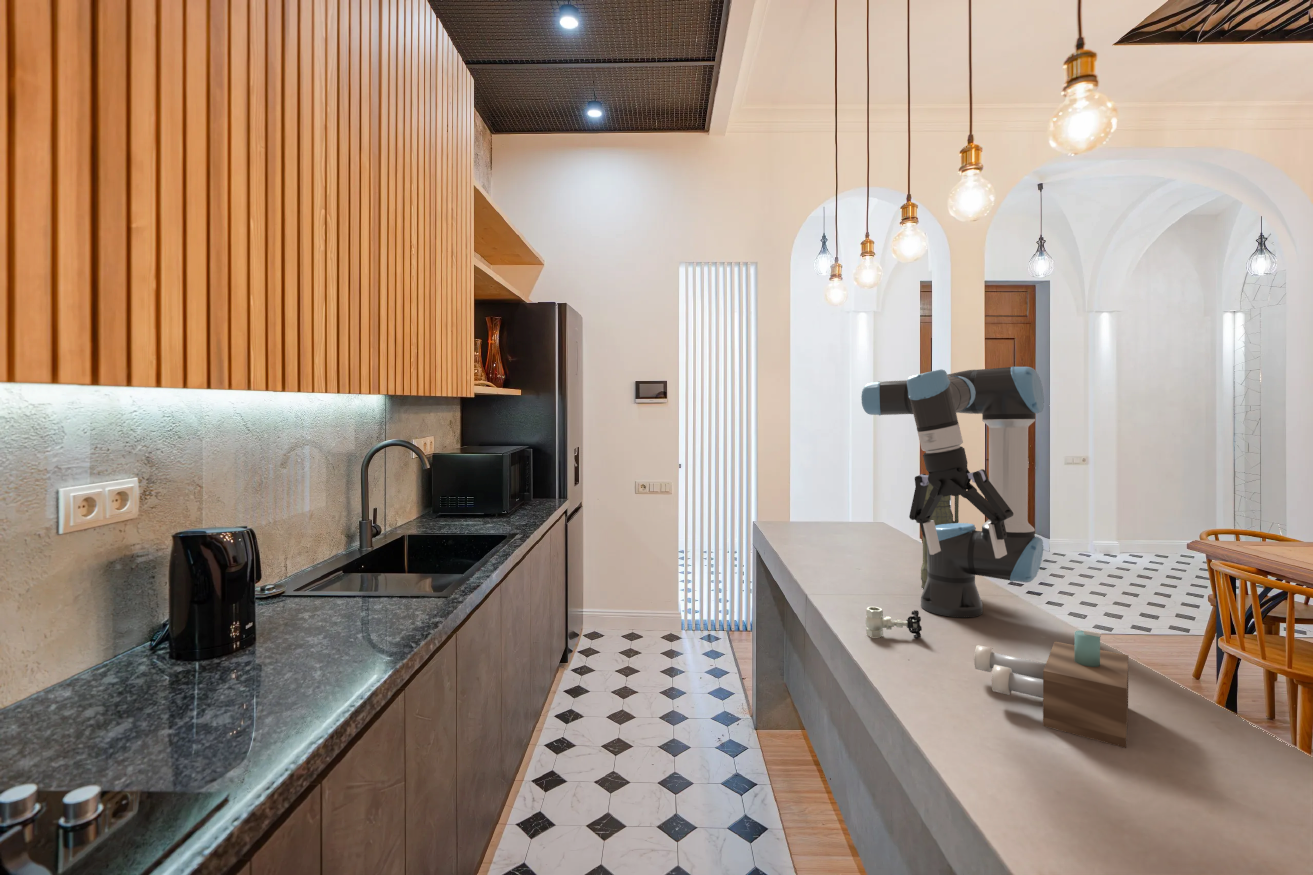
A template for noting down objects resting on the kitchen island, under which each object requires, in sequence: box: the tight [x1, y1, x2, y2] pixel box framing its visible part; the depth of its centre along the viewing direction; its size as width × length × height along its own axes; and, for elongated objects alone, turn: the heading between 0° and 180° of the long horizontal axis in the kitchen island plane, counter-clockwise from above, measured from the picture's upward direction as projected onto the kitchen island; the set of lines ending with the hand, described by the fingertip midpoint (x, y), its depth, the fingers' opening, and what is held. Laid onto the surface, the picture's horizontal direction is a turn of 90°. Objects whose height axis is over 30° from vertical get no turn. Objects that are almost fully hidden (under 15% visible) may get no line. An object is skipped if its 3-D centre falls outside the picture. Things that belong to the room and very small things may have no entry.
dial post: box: [1074, 629, 1102, 667], centre depth 103 cm, size 4×4×6 cm
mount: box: [1042, 641, 1129, 749], centre depth 103 cm, size 16×11×10 cm, turn 141°
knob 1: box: [973, 644, 1046, 680], centre depth 114 cm, size 13×5×5 cm, turn 51°
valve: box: [865, 606, 923, 639], centre depth 143 cm, size 7×7×12 cm
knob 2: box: [991, 665, 1043, 699], centre depth 104 cm, size 13×5×5 cm, turn 51°
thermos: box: [915, 473, 960, 590], centre depth 180 cm, size 9×12×35 cm
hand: (966, 554), depth 117 cm, fingers open, 13 cm apart
